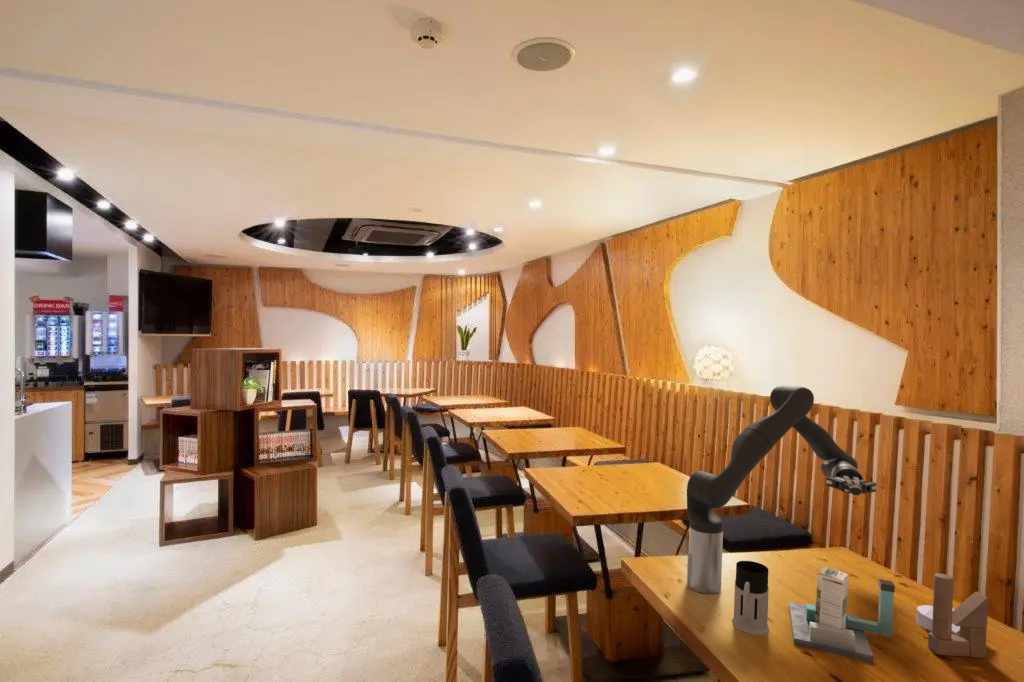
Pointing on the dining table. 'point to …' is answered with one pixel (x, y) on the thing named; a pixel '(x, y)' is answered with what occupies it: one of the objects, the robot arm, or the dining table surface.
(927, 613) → the wedge on round base
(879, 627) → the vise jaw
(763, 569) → the glass holder
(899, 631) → the dining table surface
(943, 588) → the wooden block
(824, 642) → the vise
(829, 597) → the syrup box
